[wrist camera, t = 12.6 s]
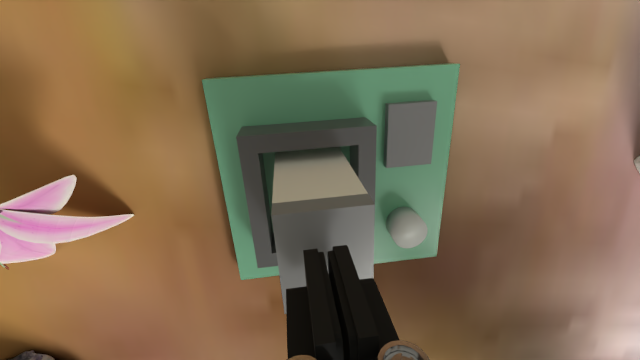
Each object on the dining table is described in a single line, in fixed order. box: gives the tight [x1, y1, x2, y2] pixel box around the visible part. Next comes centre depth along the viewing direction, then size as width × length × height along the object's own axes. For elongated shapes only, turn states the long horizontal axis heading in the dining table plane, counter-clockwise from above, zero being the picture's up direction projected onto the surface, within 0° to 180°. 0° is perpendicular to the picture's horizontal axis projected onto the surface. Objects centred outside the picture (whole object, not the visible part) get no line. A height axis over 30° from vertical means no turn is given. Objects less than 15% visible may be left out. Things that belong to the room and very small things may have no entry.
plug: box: [271, 147, 375, 314], centre depth 16 cm, size 4×5×8 cm
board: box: [202, 63, 460, 280], centre depth 19 cm, size 15×14×4 cm
